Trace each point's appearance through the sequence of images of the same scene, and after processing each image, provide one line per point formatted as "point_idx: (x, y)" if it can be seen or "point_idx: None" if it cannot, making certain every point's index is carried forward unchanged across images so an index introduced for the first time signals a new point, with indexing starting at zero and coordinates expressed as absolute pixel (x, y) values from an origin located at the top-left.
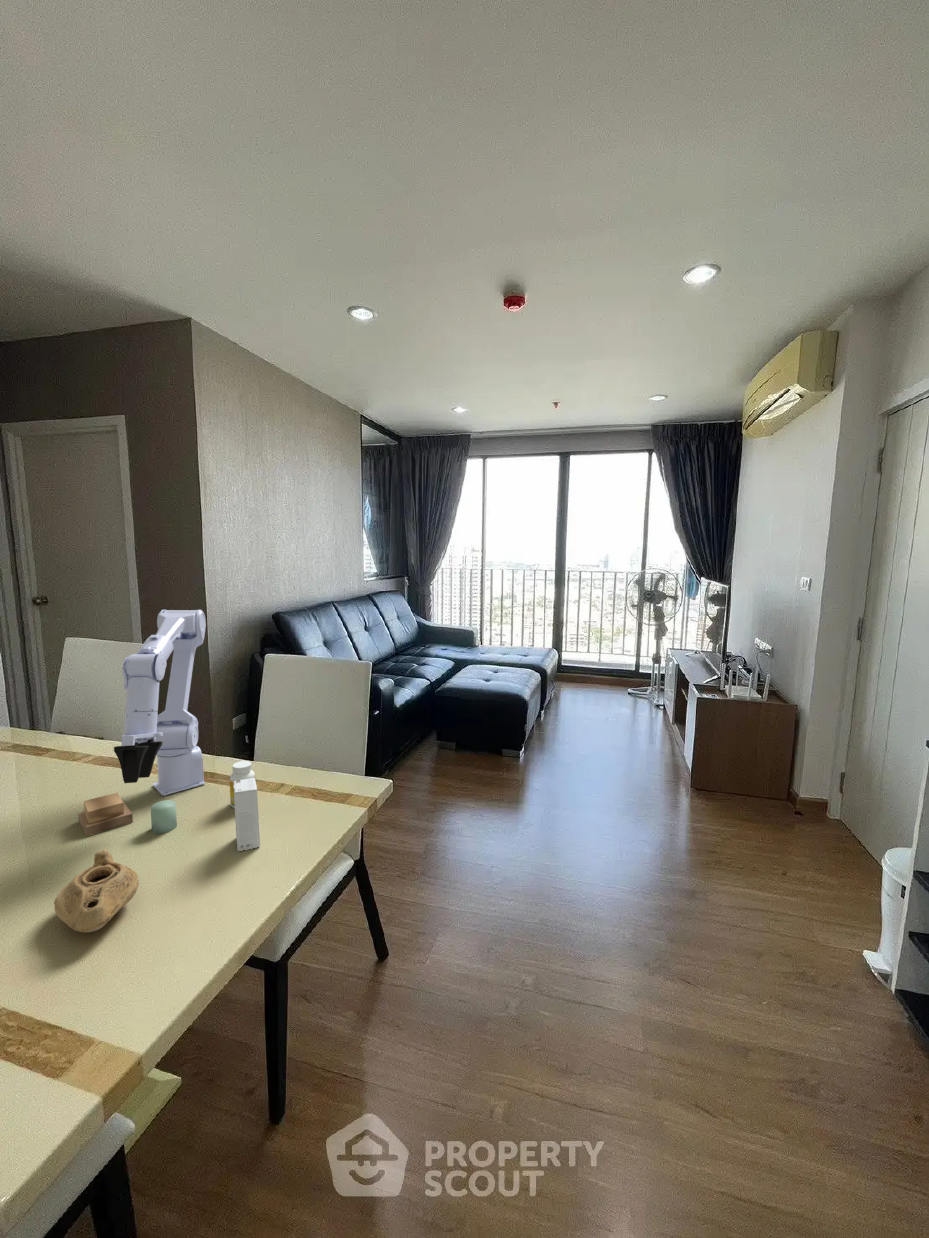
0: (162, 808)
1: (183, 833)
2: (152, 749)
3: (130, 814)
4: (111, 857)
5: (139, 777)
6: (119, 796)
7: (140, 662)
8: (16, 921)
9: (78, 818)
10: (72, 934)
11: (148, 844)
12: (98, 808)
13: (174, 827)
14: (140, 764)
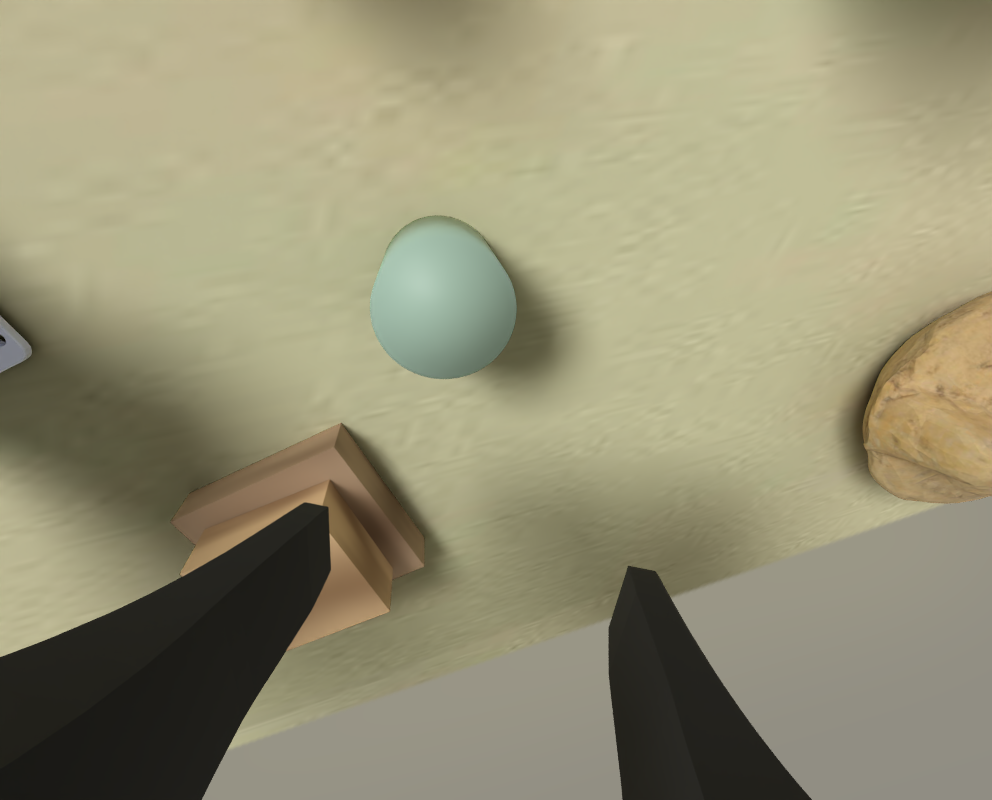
0: (489, 309)
1: (534, 166)
2: (105, 749)
3: (338, 451)
4: (976, 423)
5: (327, 561)
6: None
7: None
8: (827, 537)
9: None
10: None
11: (577, 316)
12: (364, 589)
13: (466, 223)
14: (720, 706)
